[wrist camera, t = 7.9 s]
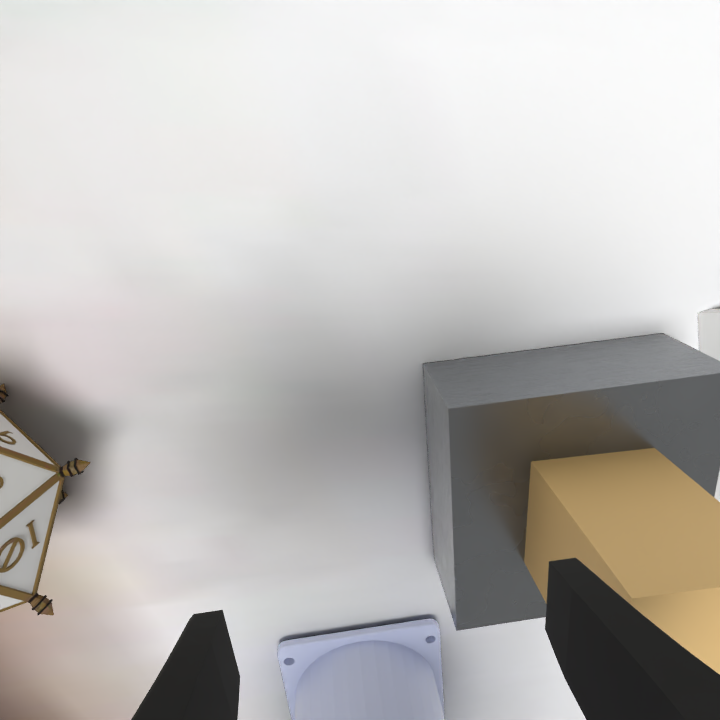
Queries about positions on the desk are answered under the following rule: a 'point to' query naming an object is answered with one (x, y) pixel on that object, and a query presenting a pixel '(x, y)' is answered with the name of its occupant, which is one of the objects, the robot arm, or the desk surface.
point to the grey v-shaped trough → (710, 346)
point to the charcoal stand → (548, 448)
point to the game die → (27, 513)
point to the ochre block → (633, 538)
